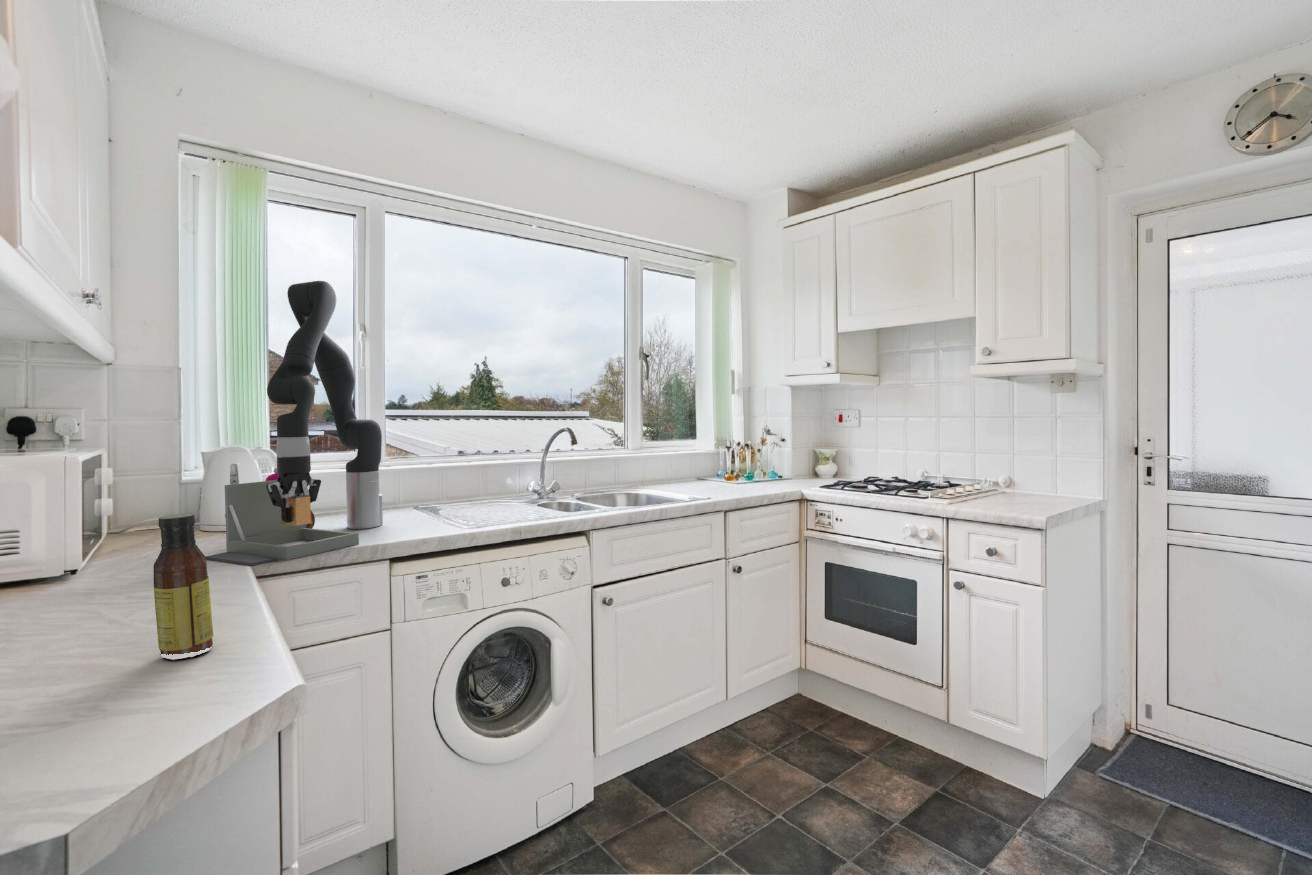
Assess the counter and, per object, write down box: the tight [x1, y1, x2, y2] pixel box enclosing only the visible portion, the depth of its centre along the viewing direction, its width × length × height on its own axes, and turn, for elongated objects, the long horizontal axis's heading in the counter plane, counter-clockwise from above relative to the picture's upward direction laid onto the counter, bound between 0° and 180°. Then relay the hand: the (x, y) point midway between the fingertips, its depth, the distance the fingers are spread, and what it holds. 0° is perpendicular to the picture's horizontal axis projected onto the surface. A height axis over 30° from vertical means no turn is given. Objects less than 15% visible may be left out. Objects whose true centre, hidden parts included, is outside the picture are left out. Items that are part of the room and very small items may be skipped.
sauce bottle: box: [152, 512, 214, 655], centre depth 88 cm, size 7×6×20 cm
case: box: [224, 480, 360, 561], centre depth 161 cm, size 20×23×17 cm
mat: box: [205, 551, 278, 567], centre depth 148 cm, size 6×18×1 cm, turn 65°
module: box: [280, 494, 312, 526], centre depth 161 cm, size 4×6×7 cm, turn 65°
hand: (295, 520), depth 161 cm, fingers closed on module, 4 cm apart
